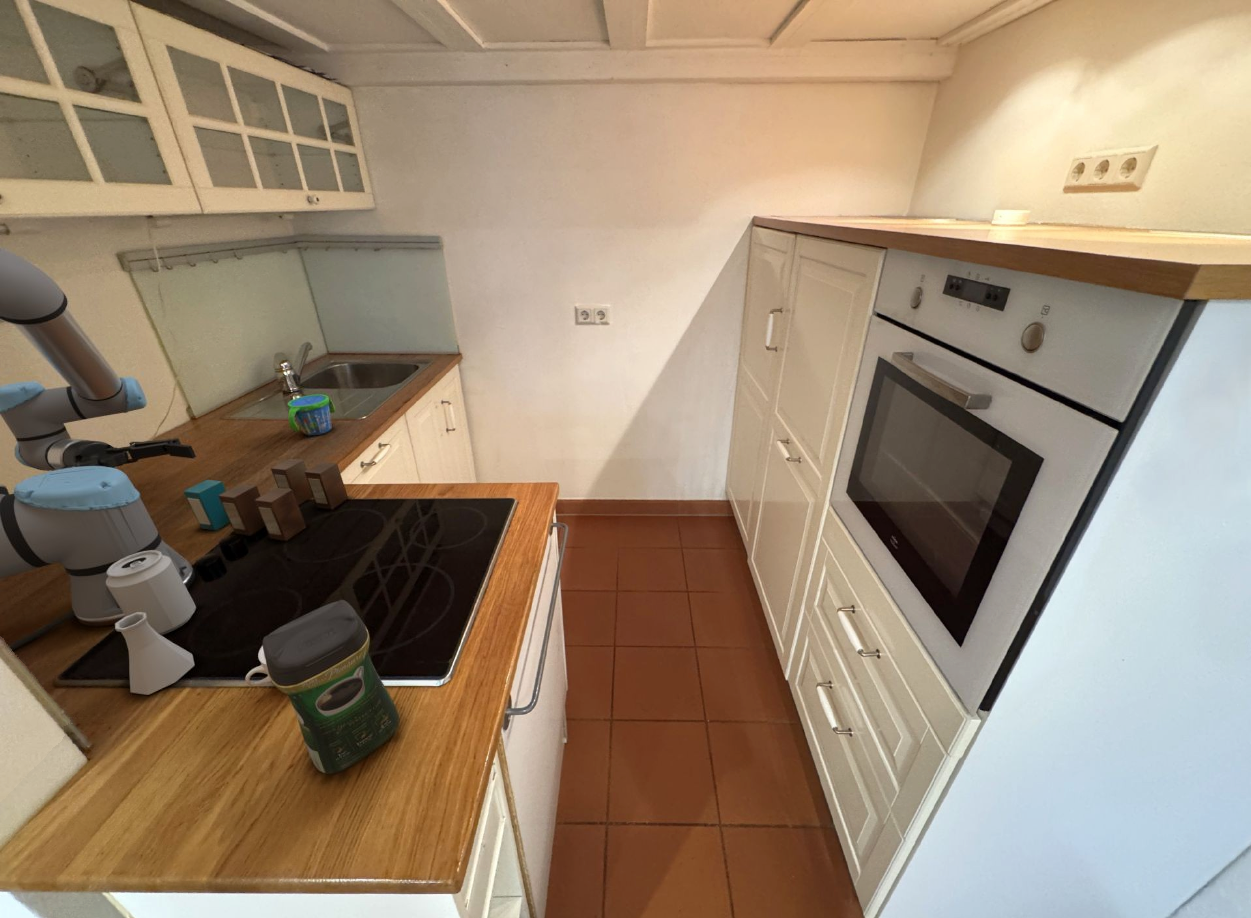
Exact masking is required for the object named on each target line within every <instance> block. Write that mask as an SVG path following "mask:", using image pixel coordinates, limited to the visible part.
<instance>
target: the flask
mask: <svg viewBox="0 0 1251 918" xmlns="http://www.w3.org/2000/svg"><path fill="white" fill-rule="evenodd" d="M114 627H115V628H114V629H115V631H116V632H119V633H120V632H121V634H122V637H123V638H124V639H125V643H126V647H127V649H128V659H129V660H128V661H129V662H128V663H129V666H128V667H129V687H130V690H129V691H130V693H131V694H139V695H147V696H148V695H151V694H153V693H156V692H157V691H159V690H162V689H163V688H166V687H169V686H171V685H172V684H174V683H176V682H178V681H179V680H180V679H181V678H182V677H183V676H185V674H187V673H188V672H189V671H190V670H191V669H193V668H194V667H195V661H194V656H193V654H192V653H191V652H189V651H187V650H186V649H184V648H183V647H181V646H179V645H178V644H176V643H173V641H171V640H169V639H167V638H166V637H164V636H163V635H159V634H158V633H157V632H156V631H155V630H154V629H153V628H152V627H151V626H150V625H149V624H148V622H147V616H146V613H142V612H136V613H134V614H131V615H129V616H126V617H124V618H123V619H121V620H120V621H118V622H117V623H115V624H114Z"/></svg>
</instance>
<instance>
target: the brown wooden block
mask: <svg viewBox="0 0 1251 918" xmlns="http://www.w3.org/2000/svg"><path fill="white" fill-rule="evenodd" d="M260 496H261V497H259V498H257V499H256V500H254V501H255V503H256V505H257V508H258V510H259V513H260V515H261V517H262V520H263V522H264V525H265V527H264V528H265V530H266V531H267V534H268V536H269V539H271V540H277V541H284V542H287V541H288V540H290V539H291V538H293V537H294V536H296V535H298V534H299V533H300V532H301V531H303V530H304V529H306V528H307V526H306V523H305V520H304V517H303V515H302V511H301V508H300V505H298V504H297V501H296V498H295V496H294V493H293V490H291V489H283V488H278V487H275V488H273V489H271V490H269V491H267V492H266V493H265V494H263V495H260Z"/></svg>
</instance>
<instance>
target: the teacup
mask: <svg viewBox="0 0 1251 918" xmlns="http://www.w3.org/2000/svg"><path fill="white" fill-rule="evenodd" d="M257 655H258V656H257V657H258V658H257V659H258V660H259V662H260V665H259V666H256V667H253V668H252V669H251V670H249V671H248V673H247V674H246V675H245V679H244V680H245V683H246V684H247V685H248V686H249V687H258V686H262V685H266V684H269V683H272V681H271V679H270V677H269V675H268V669H267V664H266V659H265V655H264V650H263V645H261V647H260V648H259V651H258V654H257ZM256 673H261V674H266V675H267V676H266V677H264V678H262V679H261V680H258V681H251V680H250V679H251V677H252V676H253V675H254V674H256Z"/></svg>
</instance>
